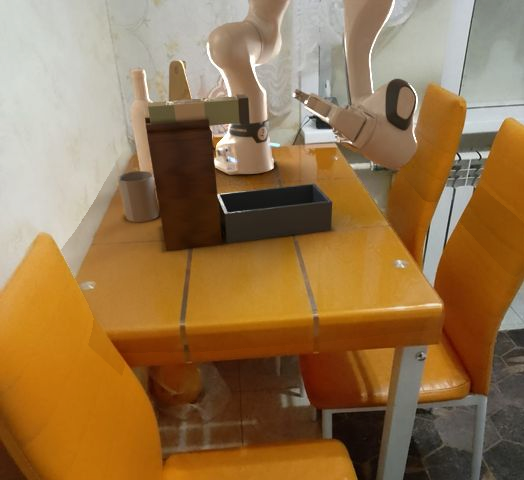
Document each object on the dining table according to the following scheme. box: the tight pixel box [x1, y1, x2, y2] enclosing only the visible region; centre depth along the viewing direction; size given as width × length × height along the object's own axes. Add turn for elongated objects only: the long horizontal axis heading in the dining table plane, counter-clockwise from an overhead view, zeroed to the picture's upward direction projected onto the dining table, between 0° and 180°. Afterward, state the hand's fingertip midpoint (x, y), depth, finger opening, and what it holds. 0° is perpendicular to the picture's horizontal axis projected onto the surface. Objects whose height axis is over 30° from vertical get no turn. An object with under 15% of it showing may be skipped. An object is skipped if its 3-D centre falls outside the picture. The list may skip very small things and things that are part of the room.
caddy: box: [168, 59, 192, 101], centre depth 163 cm, size 29×11×30 cm, turn 178°
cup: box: [117, 170, 160, 223], centre depth 123 cm, size 8×8×10 cm
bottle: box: [129, 68, 156, 190], centre depth 137 cm, size 8×8×30 cm
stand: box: [145, 117, 223, 252], centre depth 107 cm, size 12×14×25 cm
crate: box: [217, 182, 333, 244], centre depth 115 cm, size 25×14×7 cm, turn 102°
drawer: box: [147, 94, 250, 127], centre depth 100 cm, size 20×5×5 cm, turn 102°
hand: (300, 96), depth 102 cm, fingers open, 8 cm apart
